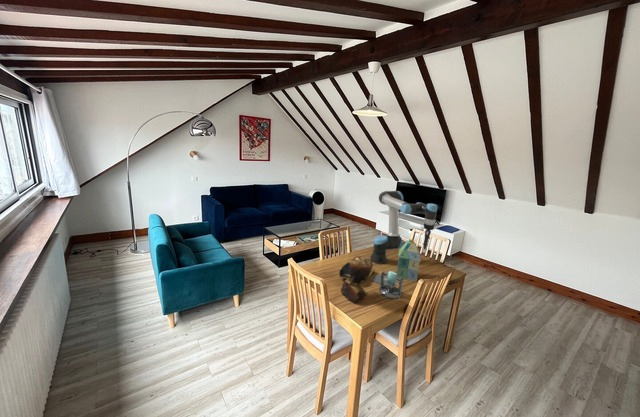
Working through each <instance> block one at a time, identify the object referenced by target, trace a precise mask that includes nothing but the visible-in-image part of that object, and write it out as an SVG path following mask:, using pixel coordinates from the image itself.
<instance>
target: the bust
mask: <svg viewBox="0 0 640 417" xmlns="http://www.w3.org/2000/svg"><path fill="white" fill-rule="evenodd" d="M349 263H350V264H349V266H348V268H349V270H350V273H351V275H350V277H349V279H348V278H346V279H345V280H344V281H343V283H342V286H341V288H340V292H341V295H342V296H343V297H344V298H345V299H346V300H347V301H349V302H350V303H353V304H356V303H358V302H359V301H361V300H364V299H365V297H366V296H367V292H366V291H365V290H364V289H363V287H362V286H361V283H362V282H365V281H367V279H368V278H369V277H370V276H369V274H370V272H371V271H372V270H373V267H374V264H373V263H374V262H372V261H371V260H370V258H369V257H367V256H364V255H357V256H354V257H353V258H351V260H350V262H349ZM368 276H369V277H368Z"/></svg>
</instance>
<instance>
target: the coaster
mask: <svg viewBox="0 0 640 417" xmlns="http://www.w3.org/2000/svg"><path fill="white" fill-rule="evenodd" d="M381 276H382V274H377V275H375V276H374V277H373V278H371V279H370V281H371V282H373V283H376V284H377V285H380V284H381ZM385 277H386V276H384V278H385ZM384 285H388V282H387V280H384V284H383V286H384Z"/></svg>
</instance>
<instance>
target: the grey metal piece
mask: <svg viewBox="0 0 640 417" xmlns="http://www.w3.org/2000/svg"><path fill="white" fill-rule="evenodd" d="M381 275H382V276H381V284H379V294H380V296H383V297H384V298H386V299H390V300H397V299H400V298H402V294H403V293H402V291H403V284H404V279H402V278H399V277H398V278H397V282H400V284H399V285H398V286H399V288H398V287H397V286H395V285H396V284H390V283H388V285H384V286H383V284H384V276H385V277H388V272H386V271H382V272H381Z"/></svg>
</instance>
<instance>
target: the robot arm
mask: <svg viewBox="0 0 640 417" xmlns="http://www.w3.org/2000/svg"><path fill="white" fill-rule="evenodd" d="M378 202H379V203H381V205H384V206H385V205H386V206H387V207H388V233H387V234H386V235H382V234H380V235H377V236H375V237H374V240H373V250H372V252H371V256H370V258H369V259H370V260H371V261H372V263H374V264H378V265H385V264H386V263H387V262H388V257H387V251H389V250H399V249H400V248H401V247H402V246H403V238H402V237H401V235H400V233H399V218H400V217H399V216H400V215H399V211H400V212H401V213H402V214H404V215H411V214H422V215H425V216H424V221H423V229H425V232H424V239H423V240H424V241H423V243H422V245H423V246H422V251H421V252H422V253H424V254H426V253H427V248H428V247H429V242H430V240H431V237H430V235H431V233H432V231H434V230H435V223H436V222H437V221H436V217H437V211H438V204H435V203H432V202H431V203H427V204H426V203H423V202H419V201H418V202H416V203H409V202H406V201H404V195H403V193H402V192H401V191H399V190H385V191H382V192H380V193H379V194H378Z"/></svg>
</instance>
